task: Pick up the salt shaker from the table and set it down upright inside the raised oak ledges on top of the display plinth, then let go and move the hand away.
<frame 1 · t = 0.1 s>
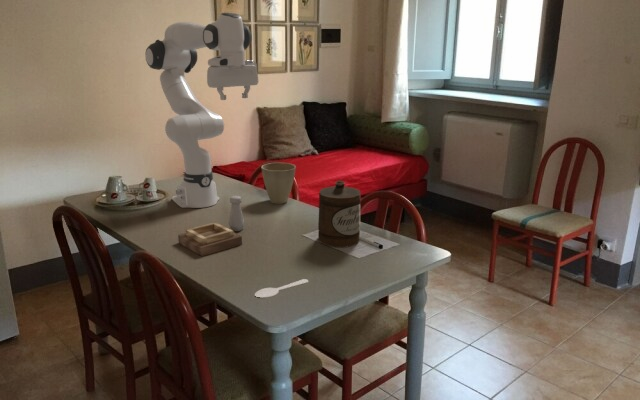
hand: (234, 99, 194), 48 cm above the table, tool pointing down, fingers open, 8 cm apart
display plinth: (210, 243, 185), on the table
wooden container: (338, 240, 190), on the table
spoon: (282, 289, 153), on the table
plant pot: (279, 201, 234), on the table
salt shaker: (236, 229, 199), on the table
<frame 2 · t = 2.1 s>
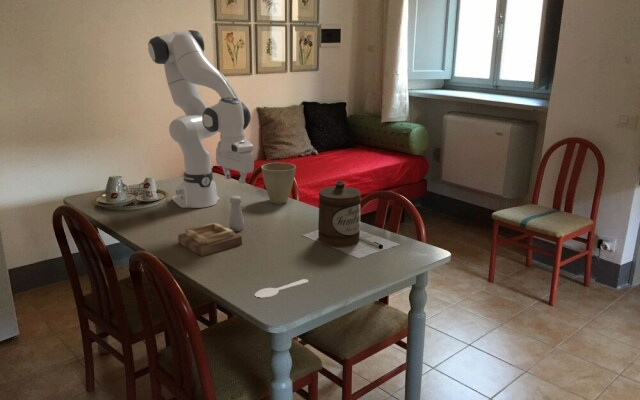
hand: (235, 180, 193), 19 cm above the table, tool pointing down, fingers open, 8 cm apart
nothing on the table moved.
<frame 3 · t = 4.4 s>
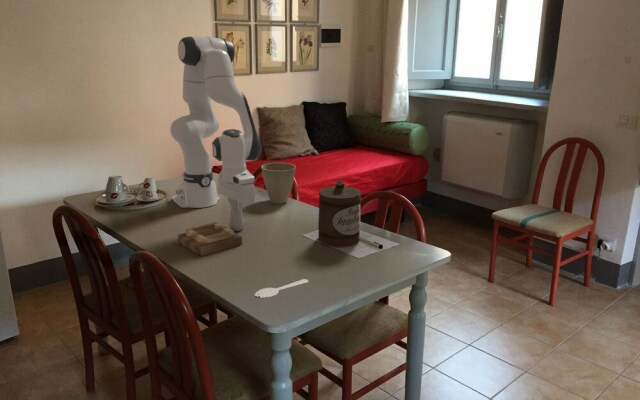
hand: (236, 210, 197), 8 cm above the table, tool pointing down, fingers closed on salt shaker, 3 cm apart
salt shaker: (236, 229, 199), on the table, touching gripper
everything else where it was.
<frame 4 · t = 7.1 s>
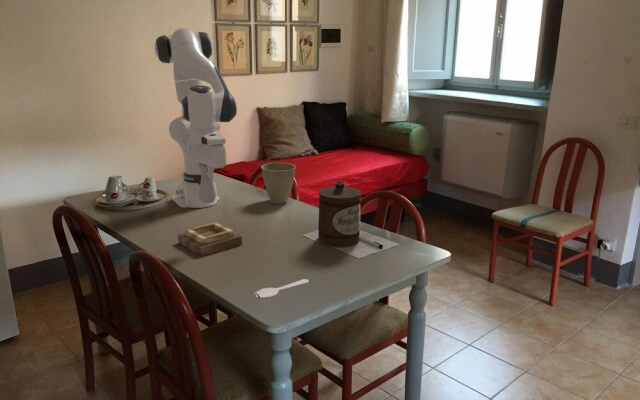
hand: (206, 176, 178), 24 cm above the table, tool pointing down, fingers closed on salt shaker, 3 cm apart
salt shaker: (207, 201, 181), point 15 cm above the table, touching gripper
everything else where it was.
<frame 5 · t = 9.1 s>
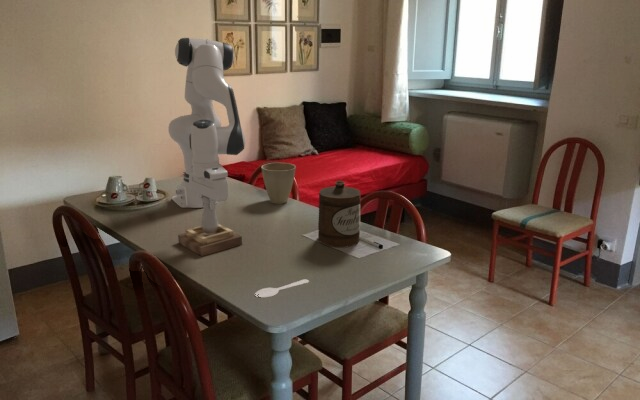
hand: (208, 207, 181), 13 cm above the table, tool pointing down, fingers closed on salt shaker, 3 cm apart
salt shaker: (210, 232, 184), point 4 cm above the table, touching gripper
everything else where it was.
when the fingers open (12 cm above the table, at t = 10.2 s): salt shaker stays where it is, resting on display plinth.
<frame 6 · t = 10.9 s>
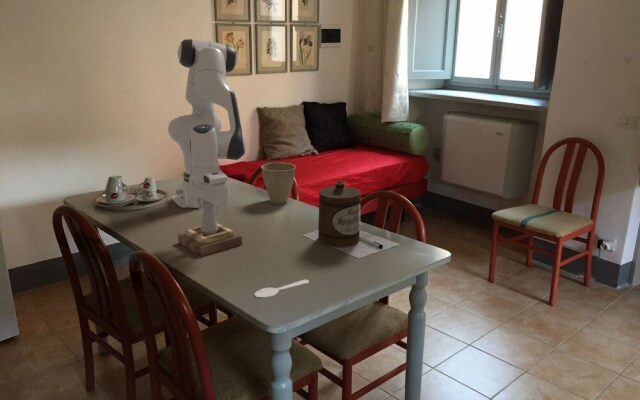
hand: (208, 212, 182), 12 cm above the table, tool pointing down, fingers open, 8 cm apart
salt shaker: (210, 236, 184), point 3 cm above the table, touching display plinth
everything else where it was.
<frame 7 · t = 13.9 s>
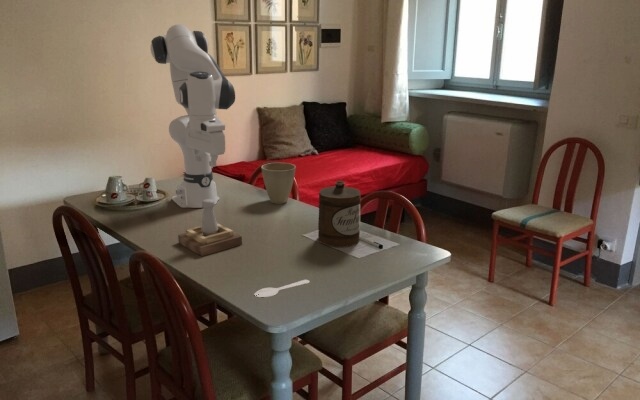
hand: (205, 163, 177), 29 cm above the table, tool pointing down, fingers open, 8 cm apart
nothing on the table moved.
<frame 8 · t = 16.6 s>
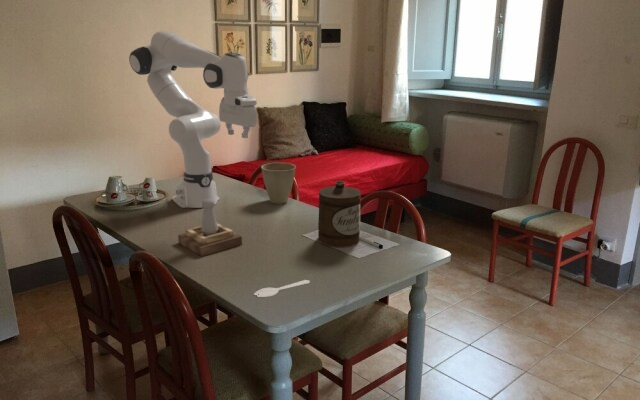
hand: (237, 136, 197), 34 cm above the table, tool pointing down, fingers open, 8 cm apart
nothing on the table moved.
at the end: salt shaker 0.1 cm off-centre on the display plinth, point 2.8 cm above the display plinth's base; salt shaker tilted 0°; the gripper is holding nothing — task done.
